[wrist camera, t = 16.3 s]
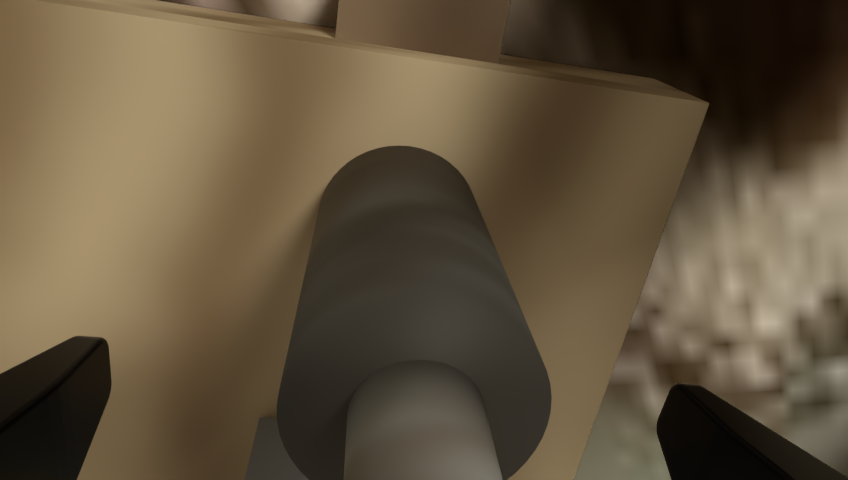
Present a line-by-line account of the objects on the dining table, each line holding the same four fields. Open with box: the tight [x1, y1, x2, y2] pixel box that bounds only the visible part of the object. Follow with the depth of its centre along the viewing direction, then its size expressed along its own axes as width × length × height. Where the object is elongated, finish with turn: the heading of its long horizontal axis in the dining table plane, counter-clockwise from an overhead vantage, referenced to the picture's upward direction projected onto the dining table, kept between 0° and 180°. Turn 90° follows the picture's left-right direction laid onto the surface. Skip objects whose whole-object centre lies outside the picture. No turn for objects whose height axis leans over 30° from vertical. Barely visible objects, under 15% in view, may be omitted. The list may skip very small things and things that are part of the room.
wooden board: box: [0, 0, 709, 480], centre depth 17 cm, size 22×19×3 cm
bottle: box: [277, 146, 552, 480], centre depth 11 cm, size 4×4×10 cm
